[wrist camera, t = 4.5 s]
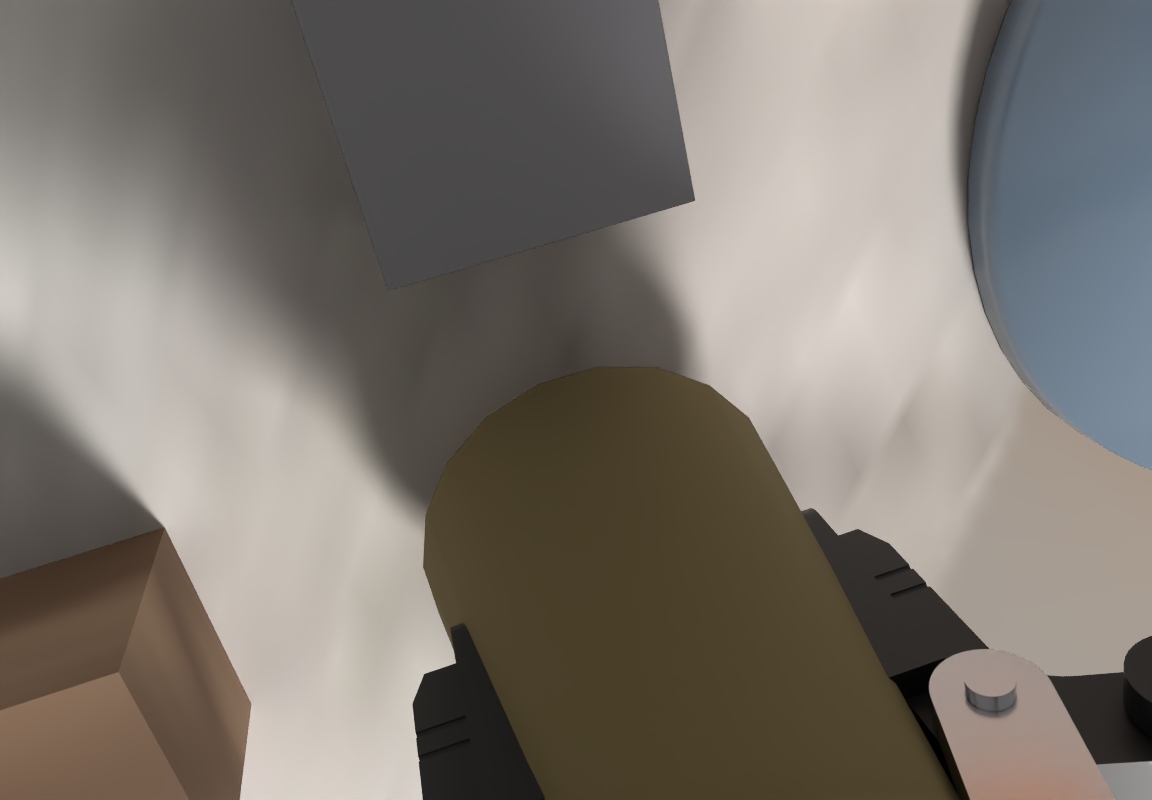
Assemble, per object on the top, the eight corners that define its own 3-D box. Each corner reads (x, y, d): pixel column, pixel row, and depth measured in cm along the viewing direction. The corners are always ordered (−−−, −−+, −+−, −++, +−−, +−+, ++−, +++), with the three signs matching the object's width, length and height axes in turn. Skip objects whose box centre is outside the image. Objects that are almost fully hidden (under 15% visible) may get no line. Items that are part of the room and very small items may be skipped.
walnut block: (-74, 599, 17) (-188, 771, 13) (165, 525, 17) (118, 672, 13) (37, 772, 18) (-38, 966, 15) (251, 701, 19) (230, 874, 15)
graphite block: (288, -51, 14) (271, -60, 10) (558, -119, 14) (630, -152, 11) (377, 219, 16) (387, 291, 12) (616, 151, 16) (694, 201, 13)
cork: (817, 593, 18) (1405, 1363, 8) (509, 737, 18) (731, 1709, 8) (719, 302, 15) (1427, 926, 5) (355, 466, 15) (399, 1434, 5)
